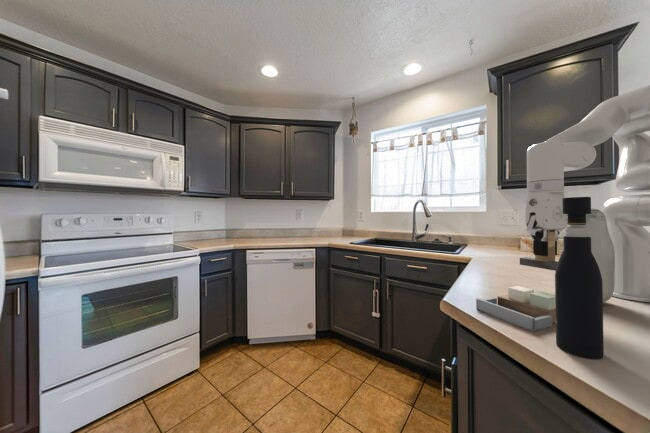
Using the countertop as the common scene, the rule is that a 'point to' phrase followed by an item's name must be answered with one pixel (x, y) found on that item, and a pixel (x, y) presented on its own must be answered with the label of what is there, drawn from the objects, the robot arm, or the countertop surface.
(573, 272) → the black bottle
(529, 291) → the cream block
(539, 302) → the sage tile
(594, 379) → the countertop surface
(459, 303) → the countertop surface
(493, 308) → the tray
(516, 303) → the walnut plate
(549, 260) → the rubber stamp
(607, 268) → the white tall rounded piece
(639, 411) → the countertop surface
